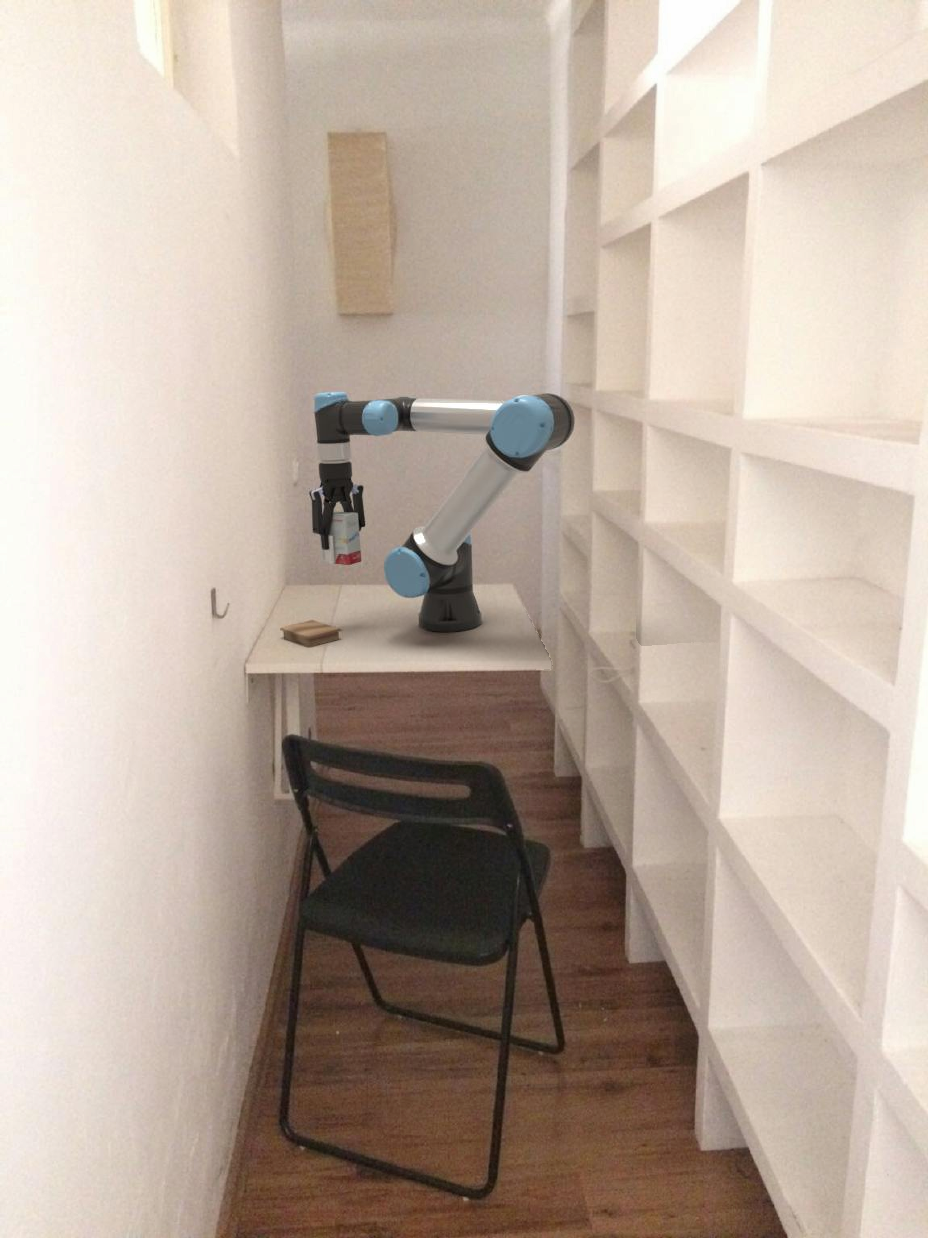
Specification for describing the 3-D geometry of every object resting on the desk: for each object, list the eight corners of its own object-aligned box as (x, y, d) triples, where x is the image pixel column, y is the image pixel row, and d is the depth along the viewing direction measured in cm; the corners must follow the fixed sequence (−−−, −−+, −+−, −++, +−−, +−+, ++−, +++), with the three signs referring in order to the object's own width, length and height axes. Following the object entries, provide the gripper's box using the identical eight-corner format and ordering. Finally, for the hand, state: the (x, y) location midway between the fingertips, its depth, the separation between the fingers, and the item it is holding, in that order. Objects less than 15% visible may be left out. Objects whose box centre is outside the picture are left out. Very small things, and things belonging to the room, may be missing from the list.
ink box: (362, 561, 227) (359, 511, 224) (349, 565, 223) (345, 515, 220) (334, 558, 232) (331, 509, 229) (321, 562, 228) (317, 512, 225)
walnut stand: (342, 639, 224) (341, 628, 223) (309, 647, 218) (308, 637, 218) (313, 630, 233) (312, 620, 232) (280, 638, 227) (279, 627, 226)
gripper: (359, 456, 230) (364, 552, 236) (290, 464, 218) (298, 564, 224) (377, 458, 224) (383, 556, 231) (308, 466, 213) (316, 569, 219)
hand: (341, 560), depth 227 cm, fingers closed on ink box, 6 cm apart
